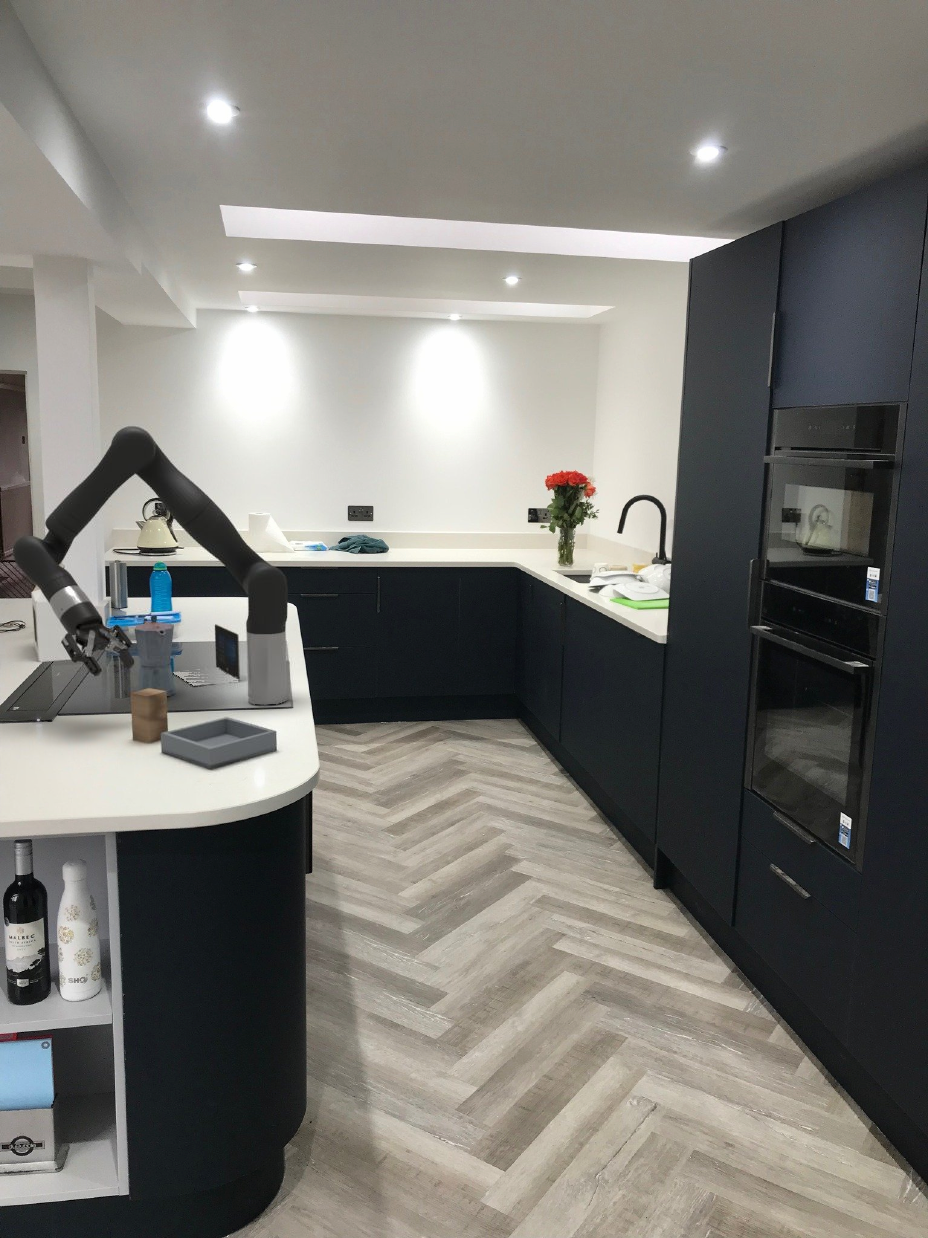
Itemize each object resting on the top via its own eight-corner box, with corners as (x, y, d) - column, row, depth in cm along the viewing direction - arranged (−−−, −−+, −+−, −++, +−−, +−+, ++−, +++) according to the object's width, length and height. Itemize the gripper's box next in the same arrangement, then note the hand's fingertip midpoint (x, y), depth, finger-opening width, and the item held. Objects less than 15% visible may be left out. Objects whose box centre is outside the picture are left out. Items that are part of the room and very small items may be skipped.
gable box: (88, 658, 275) (83, 562, 270) (39, 662, 269) (32, 564, 264) (81, 645, 294) (76, 555, 290) (34, 648, 288) (29, 556, 284)
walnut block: (151, 733, 201) (149, 688, 200) (168, 737, 199) (166, 691, 197) (132, 739, 197) (130, 693, 195) (149, 743, 195) (147, 696, 193)
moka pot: (148, 703, 226) (144, 620, 222) (124, 691, 237) (120, 612, 234) (186, 697, 232) (183, 617, 228) (161, 685, 243) (158, 608, 240)
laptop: (172, 675, 257) (170, 627, 255) (217, 669, 264) (216, 623, 262) (193, 688, 242) (191, 638, 240) (240, 683, 249) (239, 634, 247)
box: (227, 735, 201) (226, 716, 200) (276, 750, 191) (276, 731, 190) (161, 752, 189) (160, 733, 188) (210, 769, 179) (209, 749, 178)
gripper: (54, 604, 196) (95, 665, 192) (110, 596, 208) (149, 653, 205) (39, 627, 199) (79, 687, 196) (95, 618, 212) (133, 674, 208)
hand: (115, 669), depth 200 cm, fingers open, 8 cm apart
